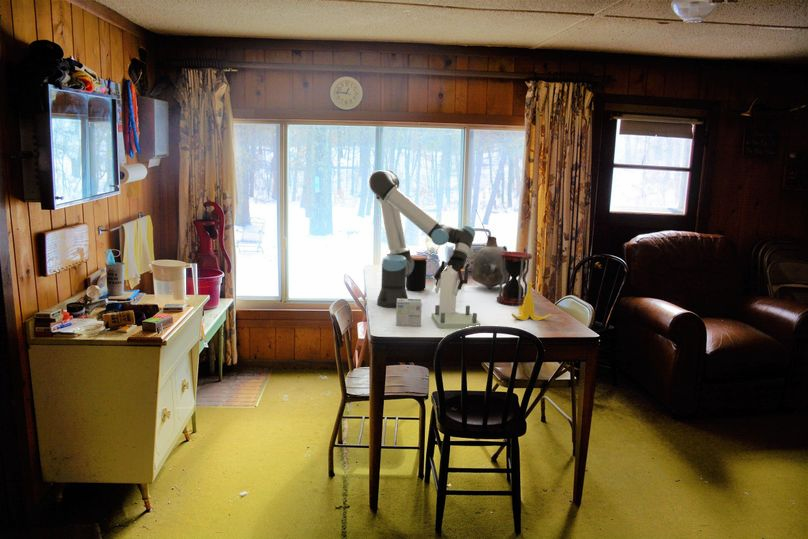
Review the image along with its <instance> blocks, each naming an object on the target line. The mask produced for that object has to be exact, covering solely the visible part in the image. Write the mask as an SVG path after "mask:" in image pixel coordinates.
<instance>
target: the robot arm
mask: <svg viewBox="0 0 808 539" xmlns="http://www.w3.org/2000/svg"><path fill="white" fill-rule="evenodd" d="M367 183H368V187H369V190H370V191H371V192H372V193H373V194H374V195H375V199H376V201H377V202H379V203H380V204H379V205H380V209H381V214H382V219H383V225H384V230H385V235H386V241H387V246H388V251H387V253H386V255H385V256H384V257H383V258H382V261H381V287H380V290H379V294H378V296H377V301H376V302H377V303H376V305H378V306H380V307H385V308H396V307H397V298H399V299H409V297H408V294H407V290H406V289H407V288H406V277H407V276H409V275H410V274H411V273H412V271H413V269H414V260H413V258H412V257H411V252H410V249H409V248H408V247H407V245H406V241H405V234H404V229H403V225H402V224H403V223H402V219H401V215H403V216H404V217H405V218H406V219H408V220H409V221H410V222H411V223H412V224H414V225H415V226H416V227H417V228H418V229H419V230H421V231H422V232H423V233H424V234H426V235H427V236H428V237H429V238H430V239H431V241H432V243H433V244H435V246H436V245H437V246H442V245H445V244H447V243H451V244H454V246H453V249H452V252H451V254H450V257H449V260H448V261H445V260H442V261H441V265H440V266H439V268H438V269H437V271H436V272H435V273H434V275H433V276H434V280H435V289H434V291H435V294H439V292H440V281H441V273H442V272H444V271H446V270H447V267H448V266H451V265H452V269H454V270H455V271H456V272H457V275H458V279H459V280H457V285H456V288H455V291H454V295H455V296H456V297H457V296H458V293H459V290H460V291H461V290H462V287H463V285H467V284H468V283H469V282H468V280H469V270H470V269H471V266H470V263H467V264H466V261H467V259H468V256H469V253H470V250H471V249H472V248H471V247H472V245H473V242H474V238H475V236H476V231H475V229H474V228H473V227H471V226H469V225H463V226H461V228H460V229H459V228H456V227H451V226H450V225H449V226H448V225H446V224H441V223H438V222H437V221H436V220H435V219H434V218H433V217H432V216H430V215H429V214H427V212H426V211H424V210H423V209H422V208H420V206H418V205H417V204H416V203H415V202H414V201H412V199H410V198H409V197H407V195H405V194H404V193H403V192H402V191H400V190H399V187H400V179H399V177H398V175H397V174H396V173H395V172H394V171H391V170H388V169H384V170H383V169H382V170H381V169H380V170H376V171H374V172H372V174H370V176H369V177H368V182H367ZM400 213H401V214H400ZM462 269H464V273H463V274H462ZM463 275H464V276H463Z"/></svg>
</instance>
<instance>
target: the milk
mask: <svg viewBox="0 0 808 539" xmlns="http://www.w3.org/2000/svg"><path fill="white" fill-rule="evenodd" d="M447 266H448V265H447ZM447 266H446V268H447V270H446V271H444V270H443V271H444V272H442V273H441V281H440V289H439V300H438V302H439V304H438V305H439V306H440V307H439V313H456V305H457V304H456V303H457V296H455V295H454V291H455V288H456V285H457V282H458V272H456V271H455V270H454V269H452V265H451V266H448V267H447Z"/></svg>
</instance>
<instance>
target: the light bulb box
mask: <svg viewBox="0 0 808 539" xmlns="http://www.w3.org/2000/svg"><path fill="white" fill-rule="evenodd" d="M422 306H423V305H422V299H421V298H408V299H399V298H397V307H396V311H395V312H396V316H395V317H396V319H395V320H396V321H395V322H396V323H395V325H396V327H397V326H399V327H401V326H402V327H422V326H421V325H422Z"/></svg>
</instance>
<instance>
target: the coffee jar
mask: <svg viewBox="0 0 808 539" xmlns="http://www.w3.org/2000/svg"><path fill="white" fill-rule="evenodd" d="M410 255H411V254H410ZM411 257H412V258H413V260H414V269H413V271H412V273H411V274H410V275H409V276H407V277H406V285H405V289H407V290H408V291H411V292H424V290H425V289H426V283H427V282H426V281H427V264H428V263H427V259H428V257H427V256H424V255H418V254H415V255H414V254H413V255H411ZM407 290H406V291H407Z"/></svg>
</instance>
